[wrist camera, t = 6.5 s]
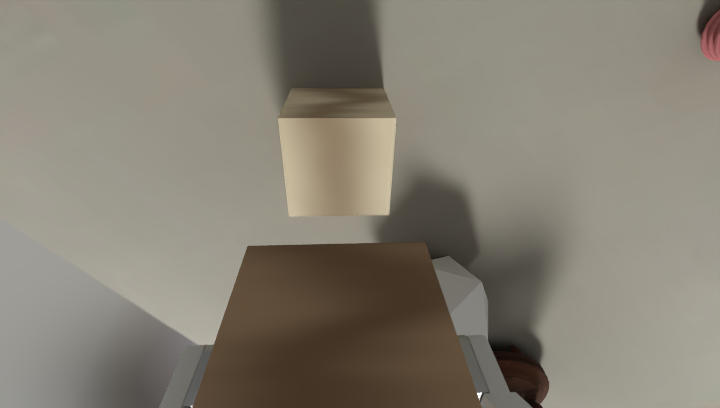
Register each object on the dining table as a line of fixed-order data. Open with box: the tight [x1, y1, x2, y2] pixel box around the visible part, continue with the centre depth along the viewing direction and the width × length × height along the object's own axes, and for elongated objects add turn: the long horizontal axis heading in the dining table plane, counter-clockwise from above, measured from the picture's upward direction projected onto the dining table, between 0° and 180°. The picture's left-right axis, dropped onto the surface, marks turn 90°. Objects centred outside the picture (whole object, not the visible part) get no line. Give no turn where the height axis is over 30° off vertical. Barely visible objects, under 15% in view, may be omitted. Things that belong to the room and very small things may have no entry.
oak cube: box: [278, 88, 396, 216], centre depth 22 cm, size 6×6×6 cm
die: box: [432, 256, 488, 340], centre depth 29 cm, size 8×9×10 cm
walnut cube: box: [193, 242, 482, 408], centre depth 9 cm, size 5×5×5 cm
